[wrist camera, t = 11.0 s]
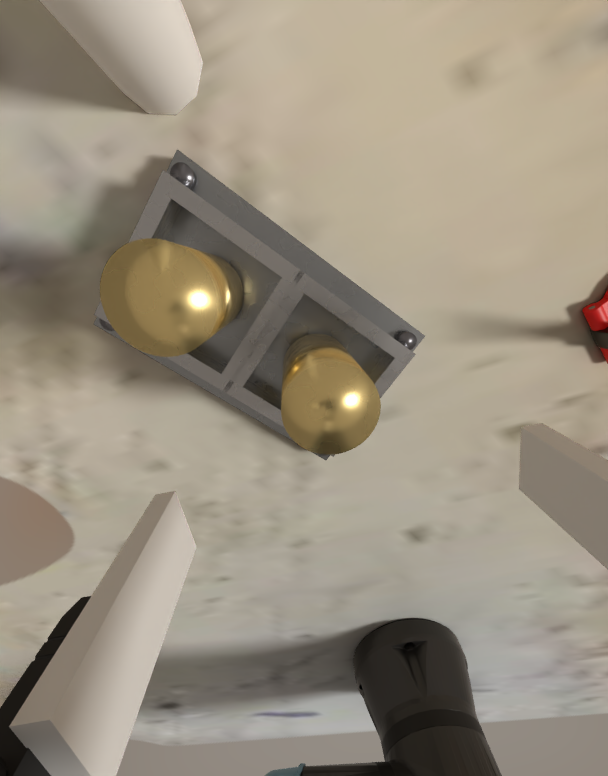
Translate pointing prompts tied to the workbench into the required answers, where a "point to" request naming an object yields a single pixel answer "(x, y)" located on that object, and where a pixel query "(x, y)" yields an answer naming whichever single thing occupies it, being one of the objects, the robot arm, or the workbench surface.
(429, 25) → the workbench surface
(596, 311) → the tow hook
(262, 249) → the housing
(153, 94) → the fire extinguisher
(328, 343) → the sleeve
